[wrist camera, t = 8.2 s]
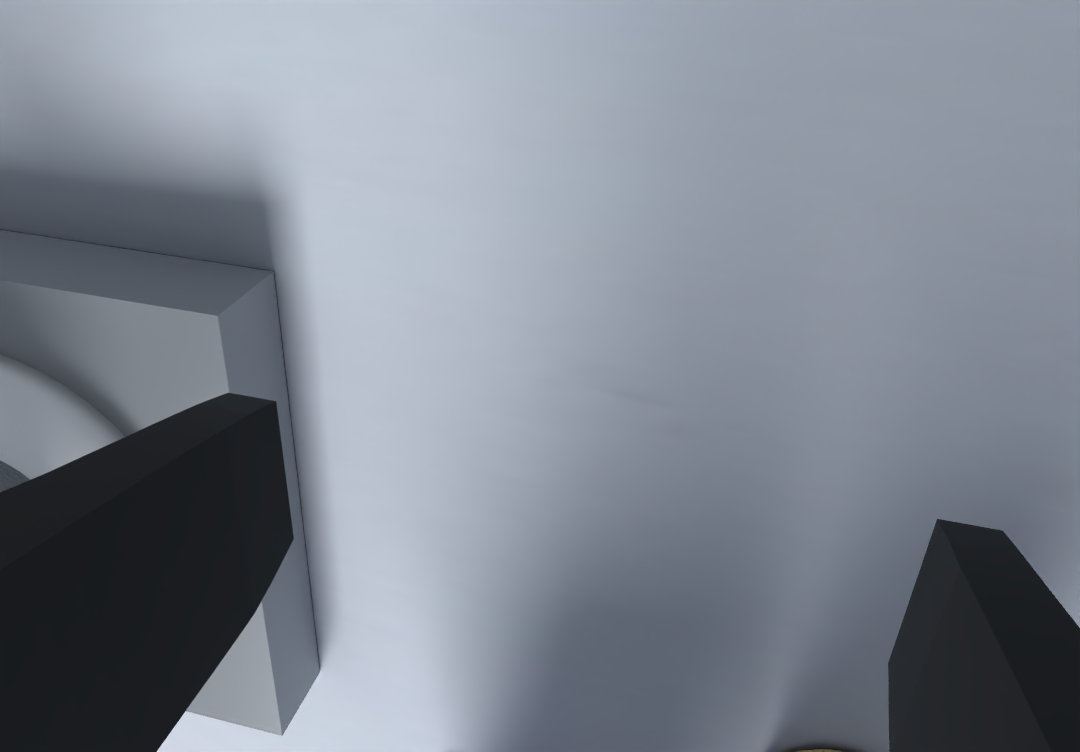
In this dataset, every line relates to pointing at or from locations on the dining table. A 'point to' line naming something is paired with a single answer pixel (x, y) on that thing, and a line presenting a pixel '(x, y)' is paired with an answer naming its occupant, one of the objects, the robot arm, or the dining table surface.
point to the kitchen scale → (155, 408)
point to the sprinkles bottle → (819, 750)
